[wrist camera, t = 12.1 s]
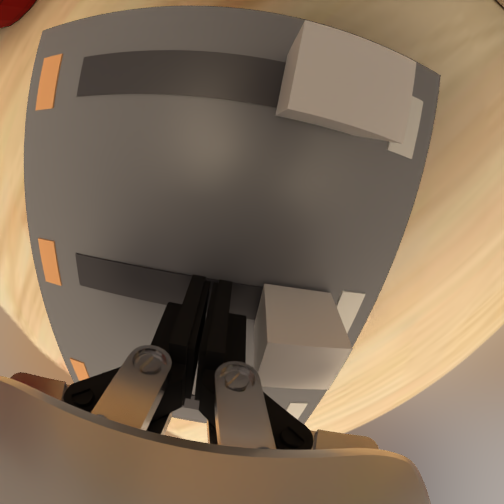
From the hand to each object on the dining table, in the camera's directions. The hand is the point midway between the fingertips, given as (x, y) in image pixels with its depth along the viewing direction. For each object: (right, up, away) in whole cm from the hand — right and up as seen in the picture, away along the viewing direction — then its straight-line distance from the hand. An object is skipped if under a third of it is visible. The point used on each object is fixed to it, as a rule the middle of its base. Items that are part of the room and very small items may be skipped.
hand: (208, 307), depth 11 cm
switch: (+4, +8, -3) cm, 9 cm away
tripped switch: (+4, 0, +1) cm, 4 cm away
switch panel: (-1, +2, +3) cm, 4 cm away
